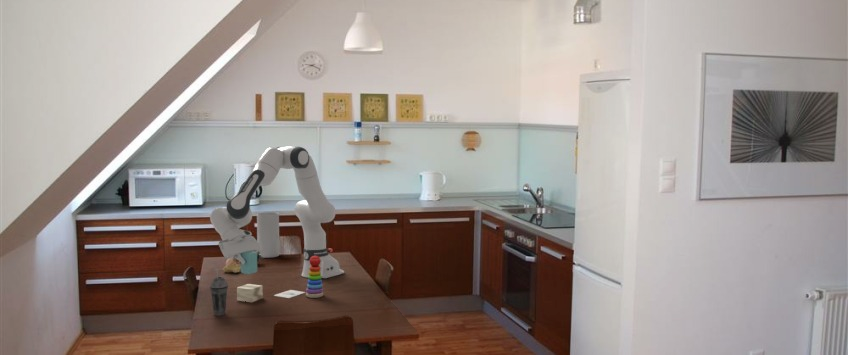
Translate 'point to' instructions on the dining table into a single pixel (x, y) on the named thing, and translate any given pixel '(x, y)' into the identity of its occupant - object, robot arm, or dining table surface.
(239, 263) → the green leafy clump
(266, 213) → the cylinder vase
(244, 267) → the teal brick
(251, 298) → the base block
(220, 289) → the beverage cup
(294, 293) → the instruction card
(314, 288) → the stacking toy
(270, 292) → the dining table surface
